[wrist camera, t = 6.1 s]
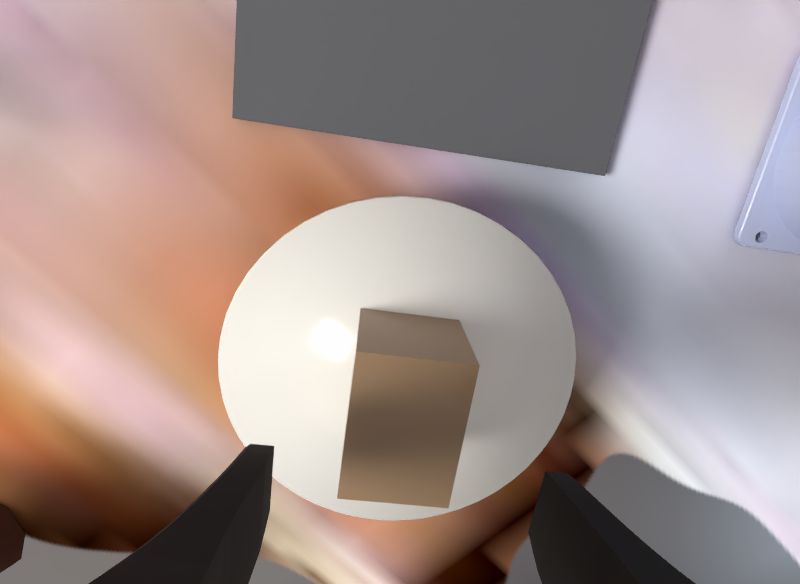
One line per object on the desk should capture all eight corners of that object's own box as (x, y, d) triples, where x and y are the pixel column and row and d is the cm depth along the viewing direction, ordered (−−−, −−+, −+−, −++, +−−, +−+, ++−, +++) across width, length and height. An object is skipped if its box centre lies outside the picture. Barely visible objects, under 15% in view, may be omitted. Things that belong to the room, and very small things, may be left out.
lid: (611, 223, 16) (683, 250, 12) (526, 521, 20) (562, 612, 16) (230, 168, 15) (179, 179, 11) (218, 495, 19) (177, 586, 15)
